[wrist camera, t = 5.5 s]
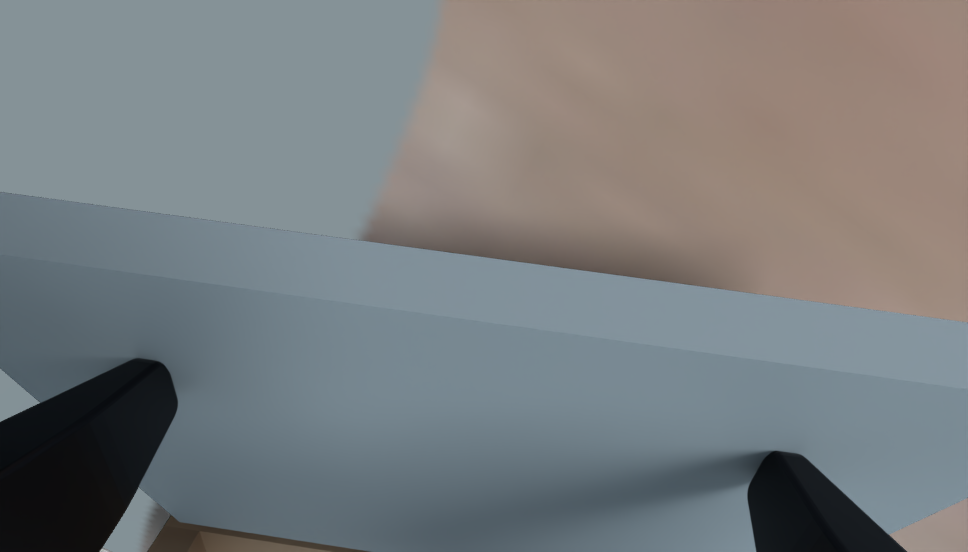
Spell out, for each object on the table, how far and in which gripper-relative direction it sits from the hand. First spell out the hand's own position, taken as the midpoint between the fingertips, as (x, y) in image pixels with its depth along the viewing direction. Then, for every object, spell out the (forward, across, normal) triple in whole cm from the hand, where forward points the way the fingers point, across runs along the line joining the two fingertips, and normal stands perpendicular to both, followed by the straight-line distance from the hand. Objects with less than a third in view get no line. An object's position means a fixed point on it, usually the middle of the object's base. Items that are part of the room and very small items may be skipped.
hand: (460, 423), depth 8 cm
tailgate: (+2, 0, +8) cm, 8 cm away
